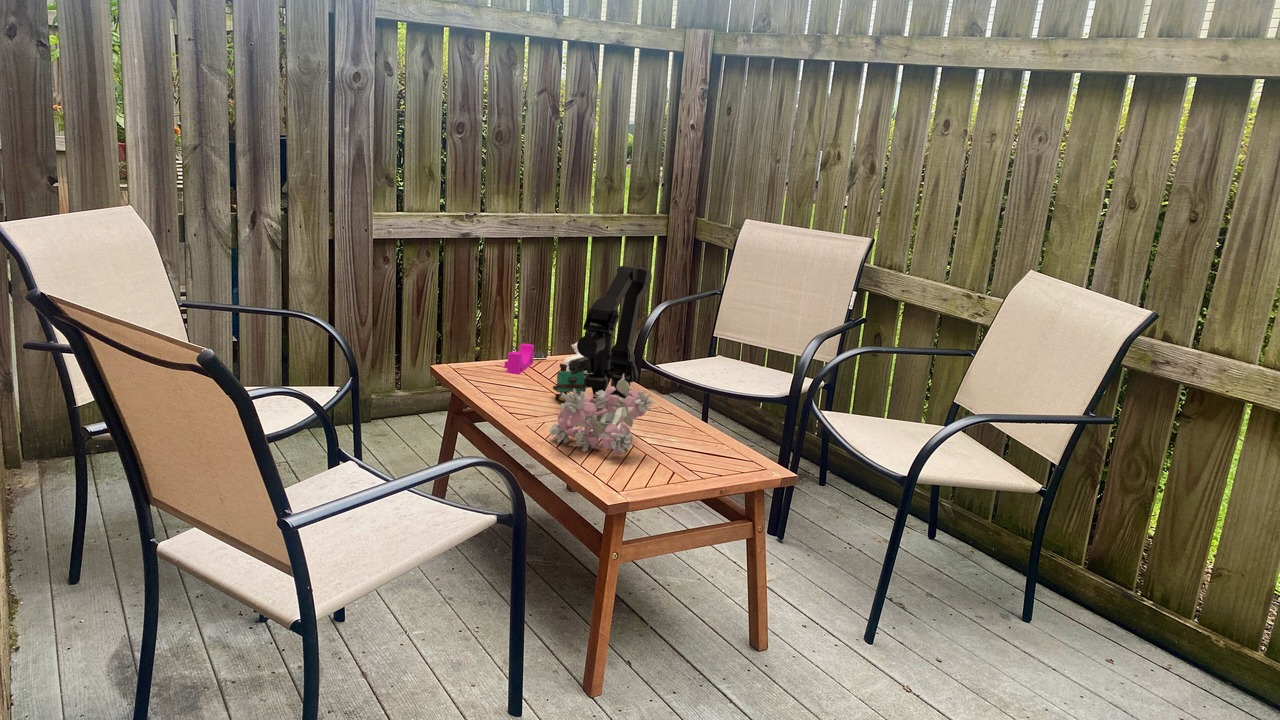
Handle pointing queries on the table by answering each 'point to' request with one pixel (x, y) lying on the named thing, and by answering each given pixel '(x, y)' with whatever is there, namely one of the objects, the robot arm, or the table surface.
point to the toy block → (520, 359)
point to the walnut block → (598, 411)
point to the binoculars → (568, 382)
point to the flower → (587, 415)
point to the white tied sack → (573, 358)
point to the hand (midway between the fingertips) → (596, 404)
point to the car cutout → (539, 356)
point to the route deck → (606, 419)
